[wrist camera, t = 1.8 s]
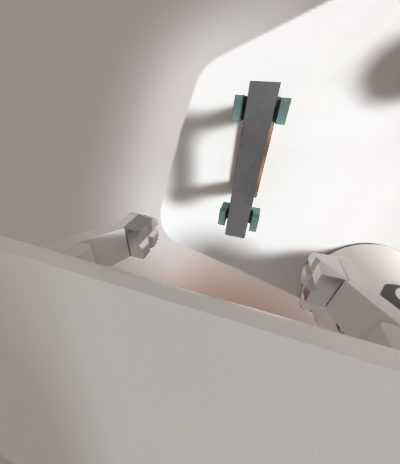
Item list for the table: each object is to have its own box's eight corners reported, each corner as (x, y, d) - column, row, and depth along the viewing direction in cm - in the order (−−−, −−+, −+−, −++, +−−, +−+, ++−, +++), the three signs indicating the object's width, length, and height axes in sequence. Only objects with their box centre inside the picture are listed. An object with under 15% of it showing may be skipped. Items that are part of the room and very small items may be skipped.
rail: (245, 228, 27) (244, 238, 25) (228, 224, 27) (225, 234, 25) (279, 85, 18) (280, 82, 16) (252, 83, 18) (250, 80, 16)
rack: (259, 194, 36) (254, 235, 25) (233, 190, 37) (217, 227, 26) (283, 97, 27) (293, 91, 16) (249, 95, 28) (236, 87, 17)
